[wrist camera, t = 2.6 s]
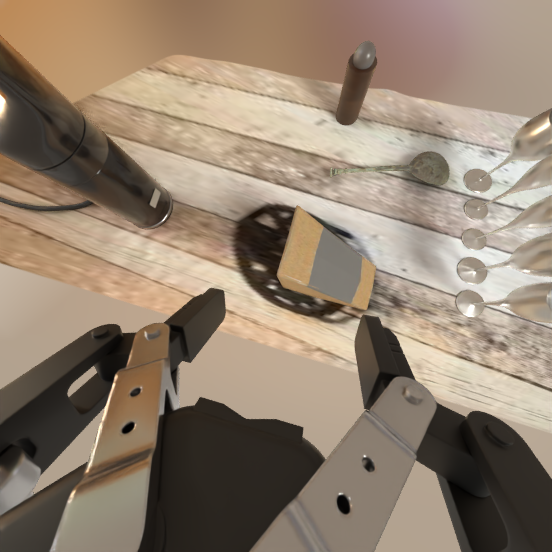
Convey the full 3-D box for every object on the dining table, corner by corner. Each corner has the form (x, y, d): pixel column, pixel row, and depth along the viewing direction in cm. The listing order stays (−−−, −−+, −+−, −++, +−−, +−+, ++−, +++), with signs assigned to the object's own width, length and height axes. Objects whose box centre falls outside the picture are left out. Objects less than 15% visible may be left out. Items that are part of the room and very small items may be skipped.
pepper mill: (332, 121, 40) (348, 50, 29) (340, 103, 40) (359, 28, 29) (352, 128, 39) (376, 59, 28) (361, 110, 40) (388, 35, 29)
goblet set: (487, 321, 32) (621, 331, 19) (450, 314, 33) (555, 319, 20) (495, 168, 36) (611, 91, 23) (461, 164, 37) (556, 86, 24)
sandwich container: (366, 312, 34) (425, 317, 19) (281, 288, 36) (275, 276, 21) (377, 265, 35) (440, 235, 20) (294, 244, 37) (296, 202, 22)
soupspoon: (447, 191, 37) (442, 161, 38) (463, 179, 34) (457, 146, 35) (328, 189, 38) (328, 160, 39) (333, 177, 34) (332, 145, 36)
